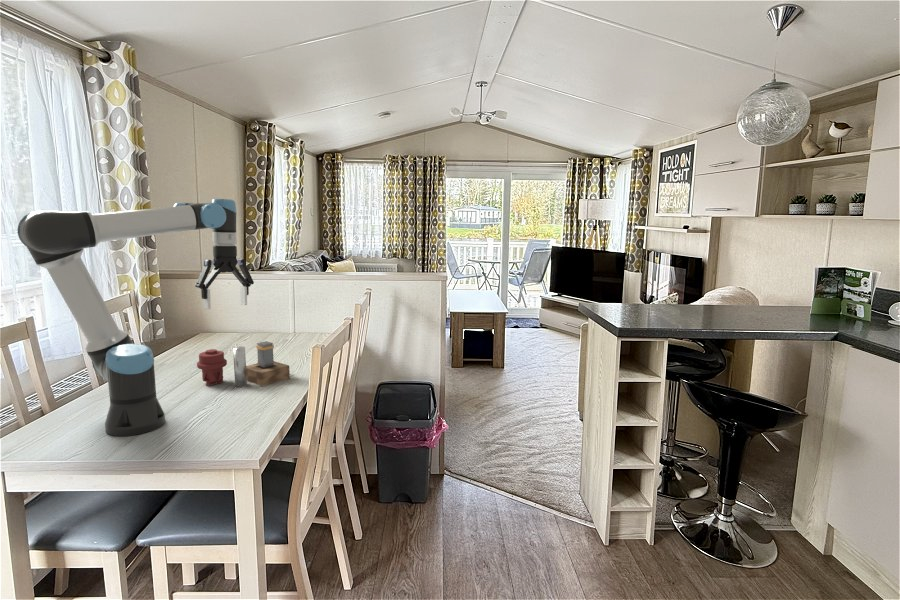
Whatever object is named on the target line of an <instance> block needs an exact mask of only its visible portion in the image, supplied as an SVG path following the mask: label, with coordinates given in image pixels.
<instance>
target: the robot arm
mask: <svg viewBox="0 0 900 600" xmlns="http://www.w3.org/2000/svg"><path fill="white" fill-rule="evenodd" d="M204 229H212V244H214V245H213V246H212V255H213V260H211V259H206V258H205V259H204V261H203V267H202V270H201V271H200V273H199V276H198V278H197V280H196V283H195V286H194V287H195V288H198V289H200V290H201V291H200V293H201V299H202V300H203V309H206V310H211V289H209V288H210V286H211V284H212V283H213V282H214V280H215V279H216V278H217V277H218V275H220V274H221V273H223V274H224V273H232V275H233V276H235V278H236V279H237V280H238V281H239V282H240V284H241V285H242V286H240V305H243V306H247V305H248V296H249V293H250V292H249V291H250V287H251V286H252V285H254V283H255V282H254V280H253V278H252V275H251V273H250V271H249V269H248V267H247V265H246V259H245V258H237V256H238V249H237V246H236V245H237V242H238V241H237V205H236V201H235V200H234V199H228V198H226V199H225V198H213V199H211V202H207V203H206V202H204V203H203V202H201V203H200V202H197V203H193V202H175V203H174V205H173V206H165V207H155V208H154V207H153V208H144V209H134V210H125V211H114V212H103V213H95V214H93V213H91V212H89V211H88V210H85V211H59V210H50V209H38V210H37V209H36V210H34V211H30V212H28V213H26V214H25V215H24V216H23V217H22V218H21V219H20V221H19V223H18V225H17V237H18V238H19V241H20V242H21V243H22V244H23V245H24V246H25V247H26V248H27V250H28V251H29V253H30V256H31V257H32V259H33V261H34V262H35V264H36V266H38V267H41V268H43V269H46V271H47V272H48V273H49V275H50V277H51V279H52V281H53V283H54V285H55V287H56V288H57V290H58V291H59V293H60V295H61V296H62V298H63V300H64V302H65V304H66V306H67V307H68V309H69V311H70V313H71V314H72V316H73V318H74V319H75V322H76V323H77V325H78V326H79V328H80V330H81V332H82V334H83V336H84V337H85V339H86V341H87V344H86V346H85V348H84V349H85V352H86V353H87V355H88V356H89V359H90V360H91V364H92V368H93V370H94V371H95V373H96V374H98V375H99V377H101V378H103V379H104V380H105V381H106V382H107V384H108V393H109V394H108V395H109V403H110V404H109V407H108V410H107V411H108V412H107V415H106V419H105V422H104V429H105V433H106V434H107V435H109V436H114V437H117V436H118V437H127V436H135V435H136V436H137V435H142V434H145V433H148V432H149V433H150V432H152V431H154V430H157V429H158V428H160V427H162V426H163V425H164V424H165V423H166V415H165V414H166V413H165V412H164V409H163V408H162V406H161V404H160V402H159V400H158V397H157V387H156V374H155V358H154V354H153V350H152V349H151V348H150V347H149V346H148V345H145V344H138V343H133V341H132V338H131V337H130V335H129V333H128V331H125V330H121V329H119V327H118V325H117V323H116V321H115V319H114V317H113V315H112V313H111V312H110V310H109V308H108V306H107V304H106V302H105V300H104V299H103V297H102V294H101V293H100V291H99V289H98V287H97V285H96V284H95V281H94V280H93V278H92V276H91V274H90V272H89V270H88V269H87V267H86V265H85V263H84V261H83V259H82V254H83V252H84V249H89V248H96V247H97V246H98V245H99V244H100V243H105V242H110V241H111V242H112V241H119V240H126V239H134V238H141V237H148V236H149V237H150V236H158V235H165V234H171V233H181V232H187V231H188V232H189V231H195V230H204ZM237 265H238V267H239V269H240V271H241V272H240V271H239V269H238V268H237ZM212 266H213V268H212ZM211 268H212V269H211ZM210 271H211V272H210Z"/></svg>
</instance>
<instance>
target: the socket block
mask: <svg viewBox="0 0 900 600" xmlns="http://www.w3.org/2000/svg"><path fill="white" fill-rule="evenodd" d="M290 375H291V373H290V365H289V364H285V363H282V362H279V361H275V360H274V367H271V368H267V369H261V368H258V362H257V363H253V364H249V365H246V376H247V383H248V382H249V383H252V384H254V385H257V386H261V387H264V386H267V385H271V384H275V383H277V382H282V381H285V380H288V379H290V378H291V376H290Z"/></svg>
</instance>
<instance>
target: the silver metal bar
mask: <svg viewBox="0 0 900 600" xmlns="http://www.w3.org/2000/svg"><path fill="white" fill-rule="evenodd" d="M232 354H233V370H234V373H233V374H234V386H235V387H238V388H242V387H246V386H248V381H247V376H246V366H247V365H246V363H247V360H246V347H245V346H241V345H240V346H239V345H238V346H234V347H232Z"/></svg>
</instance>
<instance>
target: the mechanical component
mask: <svg viewBox="0 0 900 600" xmlns="http://www.w3.org/2000/svg"><path fill="white" fill-rule="evenodd" d="M227 361H228V360H227V359H226V358H225V352H224V351H222V350H218V349H215V348H211V349H207V350H205V351H202V352H200V353H199V354H198V361H197V362H196V368H197V369H200V370H201V377H202V378H201V379H202V381H203V382H205V383H206V386H213V385H215V384H223V382H224V367H226V366H227V365H228V362H227Z"/></svg>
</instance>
